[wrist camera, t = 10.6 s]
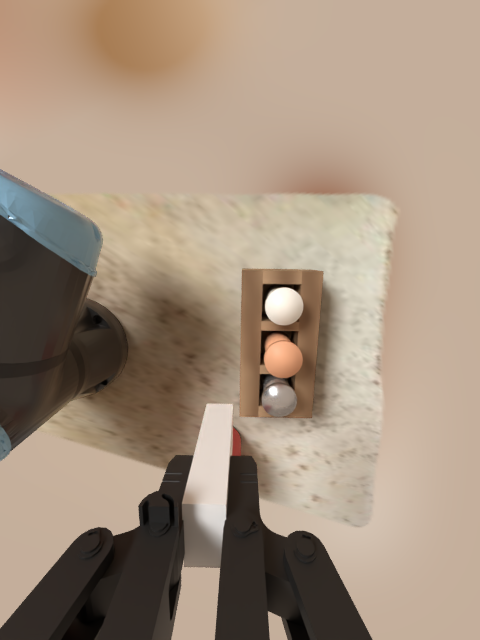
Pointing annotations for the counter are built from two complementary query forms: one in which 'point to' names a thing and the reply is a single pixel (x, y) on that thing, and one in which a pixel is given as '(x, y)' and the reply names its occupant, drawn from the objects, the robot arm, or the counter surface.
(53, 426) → the counter surface
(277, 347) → the peach round knob
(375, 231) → the counter surface
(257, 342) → the button block
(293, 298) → the plunger white
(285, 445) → the counter surface
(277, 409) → the plunger grey
